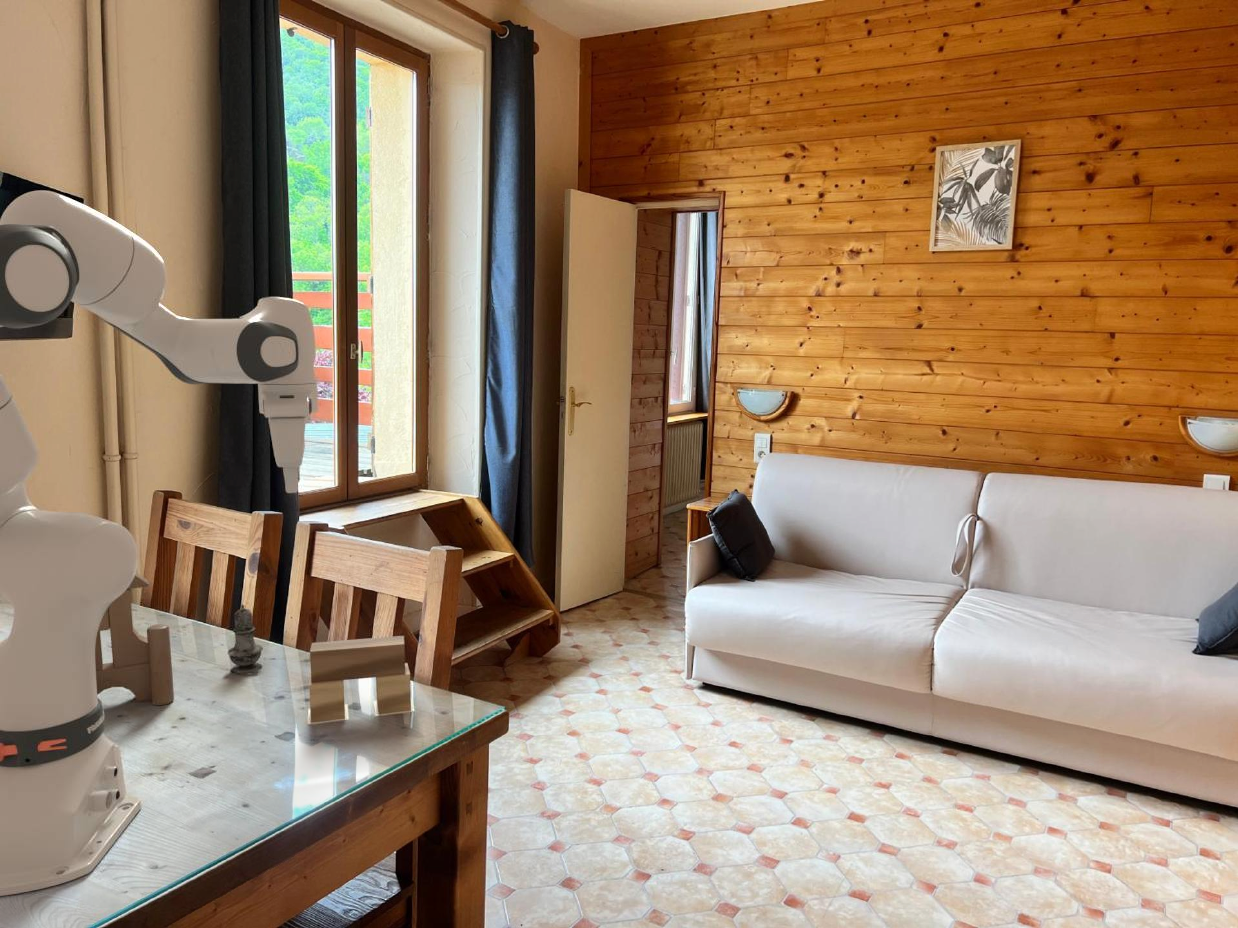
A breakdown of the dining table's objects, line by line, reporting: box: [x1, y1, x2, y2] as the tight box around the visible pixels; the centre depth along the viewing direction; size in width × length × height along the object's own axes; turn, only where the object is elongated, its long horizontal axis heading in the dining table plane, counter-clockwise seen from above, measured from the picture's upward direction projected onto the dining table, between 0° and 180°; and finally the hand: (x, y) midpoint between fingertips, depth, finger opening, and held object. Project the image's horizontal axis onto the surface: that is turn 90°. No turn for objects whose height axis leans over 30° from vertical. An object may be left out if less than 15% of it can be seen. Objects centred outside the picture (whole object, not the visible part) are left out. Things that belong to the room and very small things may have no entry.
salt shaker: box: [227, 603, 264, 676], centre depth 158 cm, size 6×6×12 cm
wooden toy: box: [95, 572, 175, 706], centre depth 141 cm, size 16×7×25 cm, turn 120°
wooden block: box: [309, 635, 406, 683], centre depth 139 cm, size 4×14×5 cm, turn 105°
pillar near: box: [308, 672, 346, 723], centre depth 138 cm, size 5×5×6 cm
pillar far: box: [375, 662, 412, 714], centre depth 141 cm, size 5×5×6 cm
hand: (293, 487), depth 143 cm, fingers open, 8 cm apart
